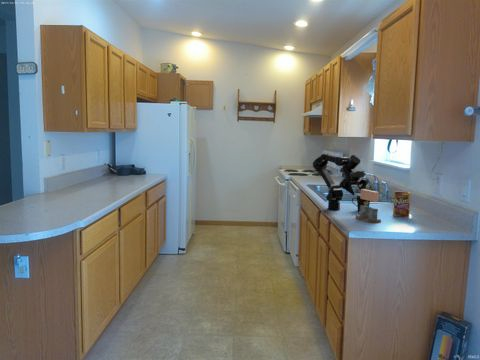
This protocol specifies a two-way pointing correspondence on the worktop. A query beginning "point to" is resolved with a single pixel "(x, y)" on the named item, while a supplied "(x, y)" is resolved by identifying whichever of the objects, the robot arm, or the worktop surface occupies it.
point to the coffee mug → (361, 202)
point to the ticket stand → (368, 214)
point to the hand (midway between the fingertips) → (359, 195)
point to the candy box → (401, 204)
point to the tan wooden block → (369, 195)
